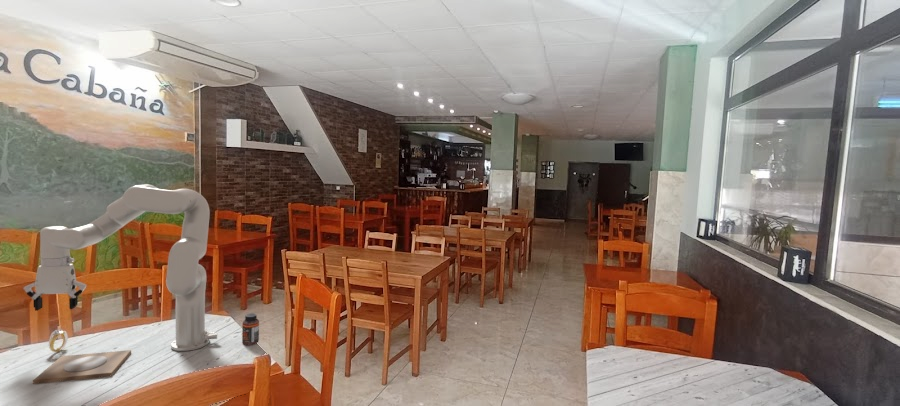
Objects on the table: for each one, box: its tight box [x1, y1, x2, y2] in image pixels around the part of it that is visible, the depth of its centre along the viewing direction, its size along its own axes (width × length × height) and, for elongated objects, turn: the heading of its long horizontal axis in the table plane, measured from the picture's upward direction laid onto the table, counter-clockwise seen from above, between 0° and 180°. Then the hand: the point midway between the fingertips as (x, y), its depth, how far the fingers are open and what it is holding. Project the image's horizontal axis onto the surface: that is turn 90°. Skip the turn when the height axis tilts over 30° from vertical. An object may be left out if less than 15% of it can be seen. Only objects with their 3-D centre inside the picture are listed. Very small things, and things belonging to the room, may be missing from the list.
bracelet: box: [48, 328, 69, 353], centre depth 151 cm, size 7×3×8 cm, turn 2°
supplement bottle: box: [241, 312, 260, 346], centre depth 165 cm, size 6×6×11 cm
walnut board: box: [32, 349, 132, 385], centre depth 141 cm, size 20×17×2 cm
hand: (56, 308), depth 149 cm, fingers open, 9 cm apart
